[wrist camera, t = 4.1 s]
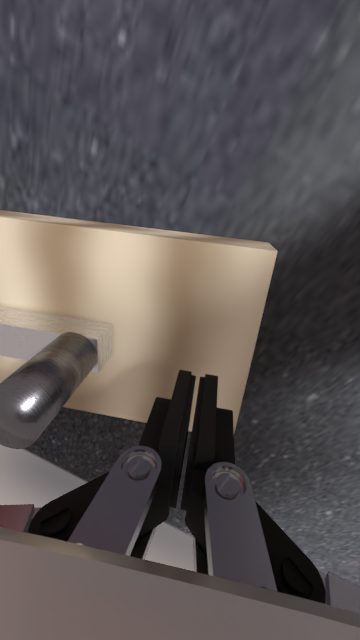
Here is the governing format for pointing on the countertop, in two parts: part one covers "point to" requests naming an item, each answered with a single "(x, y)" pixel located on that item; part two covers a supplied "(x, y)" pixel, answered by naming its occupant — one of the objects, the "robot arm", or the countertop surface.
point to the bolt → (45, 368)
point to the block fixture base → (141, 304)
